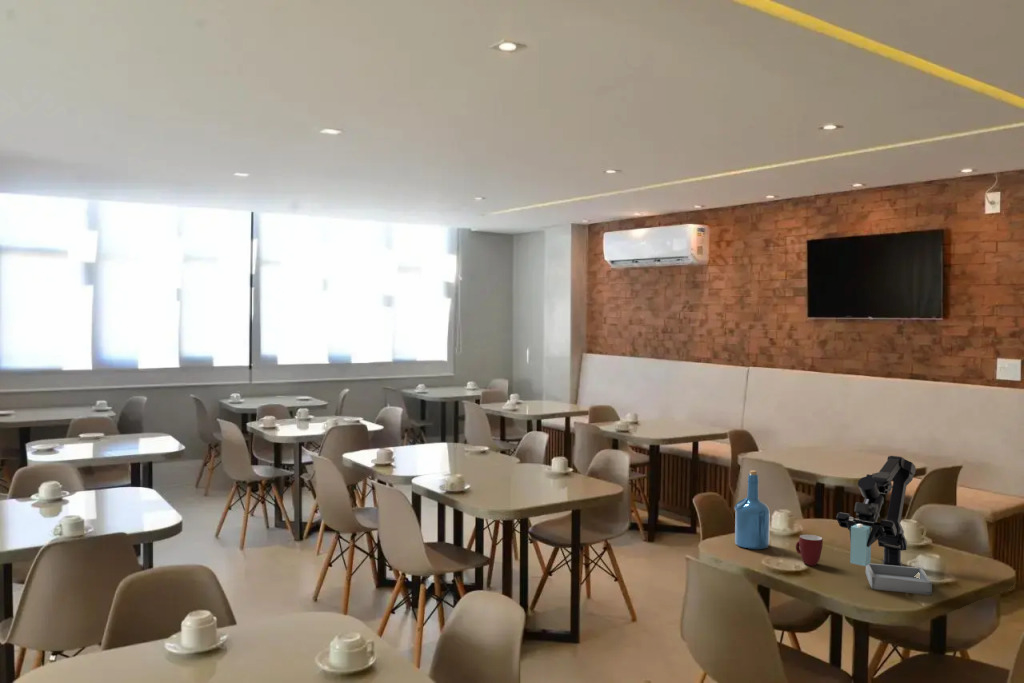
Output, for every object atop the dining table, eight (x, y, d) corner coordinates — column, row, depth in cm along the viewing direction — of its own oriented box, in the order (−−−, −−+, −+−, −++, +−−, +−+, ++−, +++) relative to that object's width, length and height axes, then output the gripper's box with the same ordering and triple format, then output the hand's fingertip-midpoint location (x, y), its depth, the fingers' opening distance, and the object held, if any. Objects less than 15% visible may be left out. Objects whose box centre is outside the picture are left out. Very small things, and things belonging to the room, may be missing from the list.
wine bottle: (766, 542, 321) (767, 468, 320) (772, 551, 308) (773, 474, 307) (731, 540, 323) (732, 467, 322) (736, 549, 310) (737, 473, 309)
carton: (855, 560, 273) (856, 521, 273) (870, 563, 270) (871, 523, 269) (850, 563, 269) (850, 523, 269) (865, 566, 266) (866, 526, 266)
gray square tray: (865, 574, 280) (865, 562, 280) (921, 579, 275) (921, 568, 275) (871, 589, 264) (872, 577, 264) (931, 595, 259) (932, 583, 259)
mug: (788, 561, 294) (788, 535, 294) (801, 558, 299) (801, 532, 299) (813, 568, 286) (814, 541, 285) (826, 565, 290) (827, 538, 290)
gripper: (838, 489, 278) (825, 526, 270) (894, 497, 265) (882, 536, 258) (846, 507, 284) (834, 544, 276) (901, 516, 271) (890, 555, 264)
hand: (859, 544), depth 268 cm, fingers closed on carton, 5 cm apart
